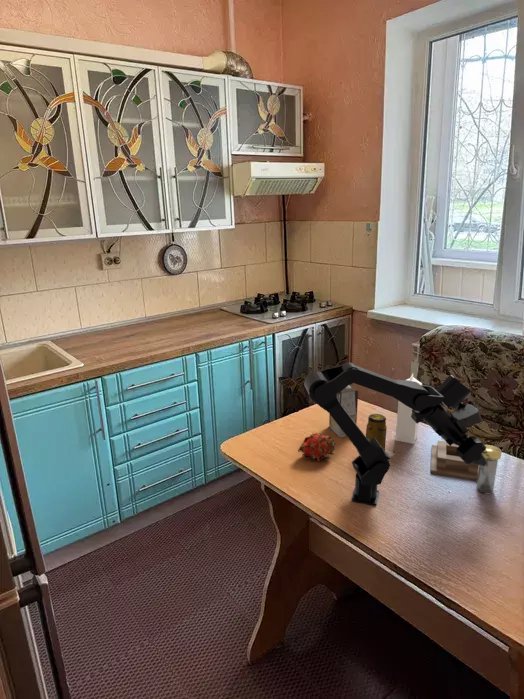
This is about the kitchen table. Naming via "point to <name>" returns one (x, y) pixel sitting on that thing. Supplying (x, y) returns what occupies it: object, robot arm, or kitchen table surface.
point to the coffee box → (346, 407)
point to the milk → (406, 422)
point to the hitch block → (451, 462)
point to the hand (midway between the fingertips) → (476, 455)
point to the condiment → (377, 430)
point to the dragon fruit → (317, 446)
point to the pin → (488, 469)
